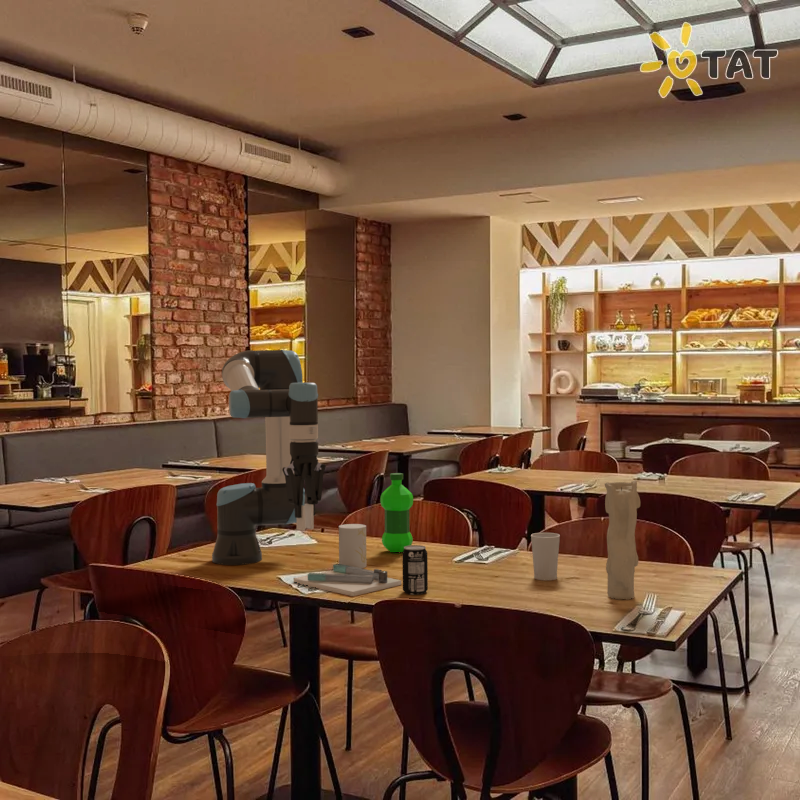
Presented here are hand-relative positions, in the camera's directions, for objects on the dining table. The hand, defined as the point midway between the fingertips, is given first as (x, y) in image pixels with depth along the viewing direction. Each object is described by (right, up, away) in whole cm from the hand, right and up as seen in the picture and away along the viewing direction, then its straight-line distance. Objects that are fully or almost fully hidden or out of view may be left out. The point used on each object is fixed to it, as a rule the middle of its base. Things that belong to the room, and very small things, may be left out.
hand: (305, 529), depth 260 cm
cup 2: (+66, -16, +13) cm, 69 cm away
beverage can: (+29, -16, -3) cm, 34 cm away
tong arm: (+9, -15, +5) cm, 18 cm away
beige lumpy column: (+82, -16, -10) cm, 84 cm away
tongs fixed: (+14, -16, +11) cm, 24 cm away
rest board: (+11, -16, +9) cm, 21 cm away
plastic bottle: (+24, -14, +54) cm, 61 cm away
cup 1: (+11, -15, +32) cm, 37 cm away
